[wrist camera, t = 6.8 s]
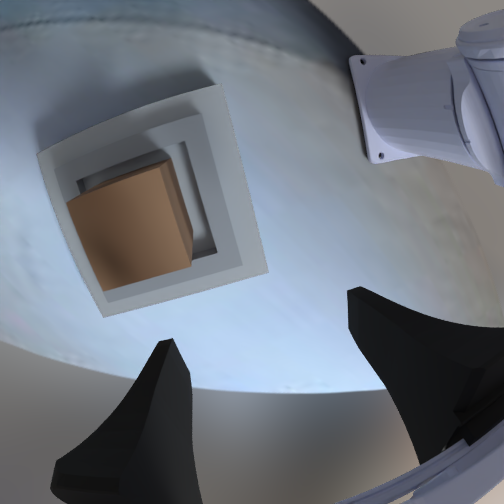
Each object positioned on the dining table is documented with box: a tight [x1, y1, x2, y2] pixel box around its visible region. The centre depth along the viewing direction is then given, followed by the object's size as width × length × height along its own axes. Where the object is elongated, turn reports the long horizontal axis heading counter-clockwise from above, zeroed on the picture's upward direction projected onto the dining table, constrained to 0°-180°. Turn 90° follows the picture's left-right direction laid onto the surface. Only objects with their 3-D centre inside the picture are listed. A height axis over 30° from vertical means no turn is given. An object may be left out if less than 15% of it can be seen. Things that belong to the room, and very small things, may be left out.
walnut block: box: [66, 158, 193, 292], centre depth 14 cm, size 4×4×5 cm
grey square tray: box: [37, 83, 269, 318], centre depth 17 cm, size 12×12×3 cm
